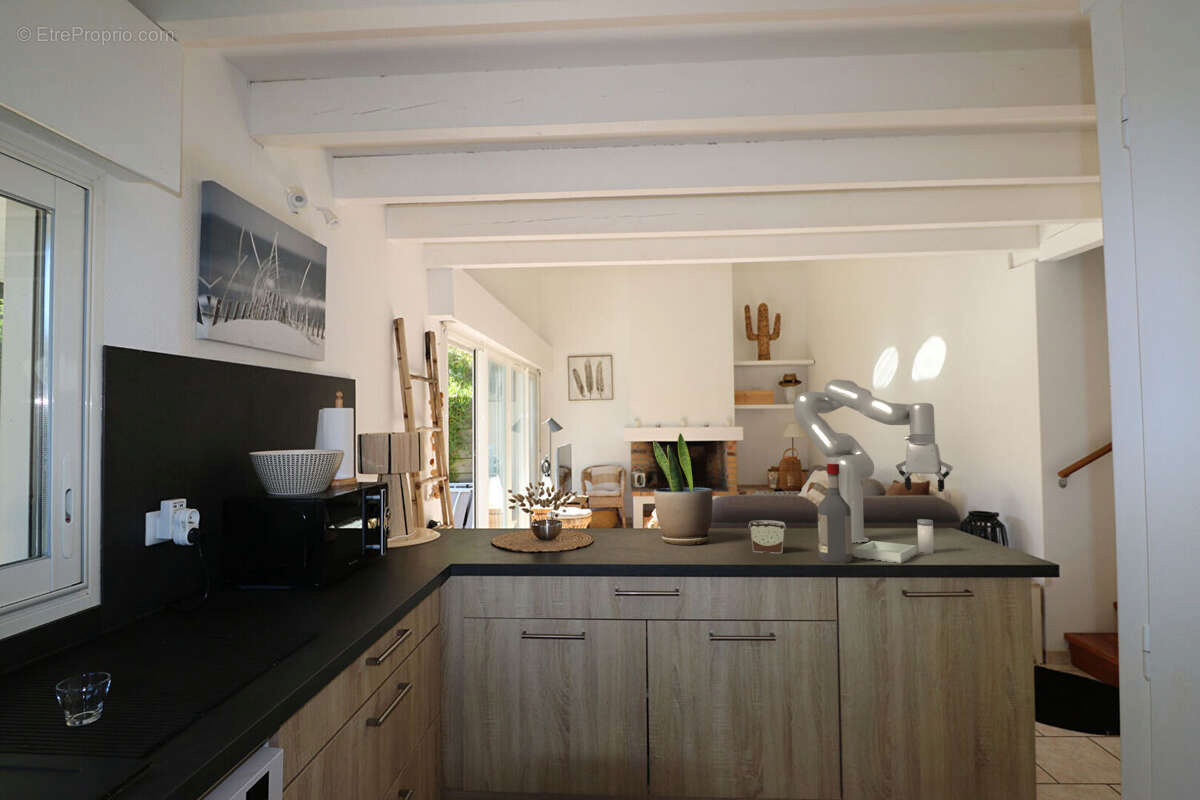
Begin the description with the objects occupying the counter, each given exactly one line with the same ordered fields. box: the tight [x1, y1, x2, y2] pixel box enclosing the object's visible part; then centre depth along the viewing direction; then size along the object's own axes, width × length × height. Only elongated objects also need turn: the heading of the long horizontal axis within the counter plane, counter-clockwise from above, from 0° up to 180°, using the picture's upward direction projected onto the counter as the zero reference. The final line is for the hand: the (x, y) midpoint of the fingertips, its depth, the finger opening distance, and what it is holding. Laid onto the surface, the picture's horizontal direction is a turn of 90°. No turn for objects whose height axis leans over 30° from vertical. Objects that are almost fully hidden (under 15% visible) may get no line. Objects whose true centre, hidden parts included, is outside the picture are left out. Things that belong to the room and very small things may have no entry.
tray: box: [853, 540, 918, 564], centre depth 202 cm, size 14×18×3 cm
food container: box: [748, 519, 787, 554], centre depth 212 cm, size 12×6×10 cm, turn 71°
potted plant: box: [652, 432, 714, 546], centre depth 231 cm, size 21×22×40 cm
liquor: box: [817, 463, 853, 564], centre depth 196 cm, size 9×9×30 cm
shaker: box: [917, 518, 935, 554], centre depth 209 cm, size 5×5×11 cm
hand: (924, 490), depth 210 cm, fingers open, 9 cm apart
